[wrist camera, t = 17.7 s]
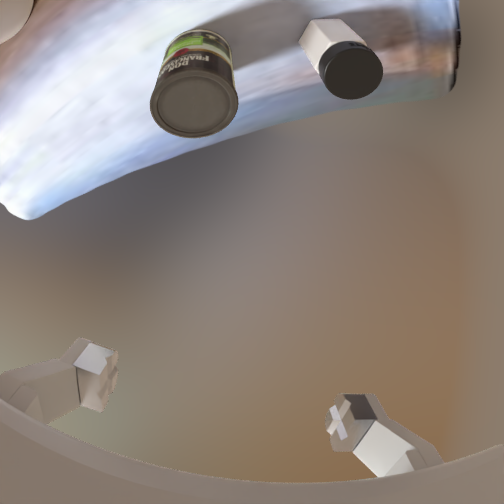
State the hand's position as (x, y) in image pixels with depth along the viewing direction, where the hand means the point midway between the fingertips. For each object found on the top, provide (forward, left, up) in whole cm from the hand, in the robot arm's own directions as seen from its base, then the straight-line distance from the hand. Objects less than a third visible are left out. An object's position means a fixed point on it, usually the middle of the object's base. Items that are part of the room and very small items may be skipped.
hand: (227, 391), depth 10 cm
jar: (+17, +5, -43) cm, 47 cm away
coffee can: (+3, -9, -43) cm, 44 cm away
